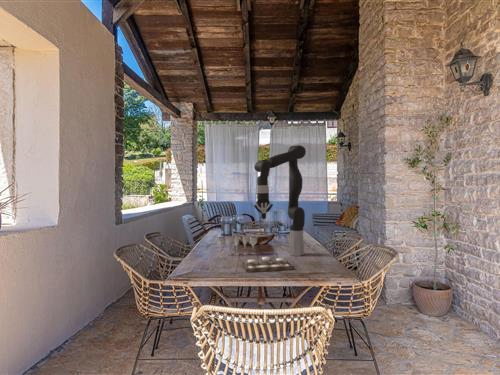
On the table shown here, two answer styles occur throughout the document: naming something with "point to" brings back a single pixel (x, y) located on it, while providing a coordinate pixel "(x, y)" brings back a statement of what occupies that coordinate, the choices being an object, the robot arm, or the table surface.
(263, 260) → the middle button
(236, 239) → the goblet set
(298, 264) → the table surface
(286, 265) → the button board
